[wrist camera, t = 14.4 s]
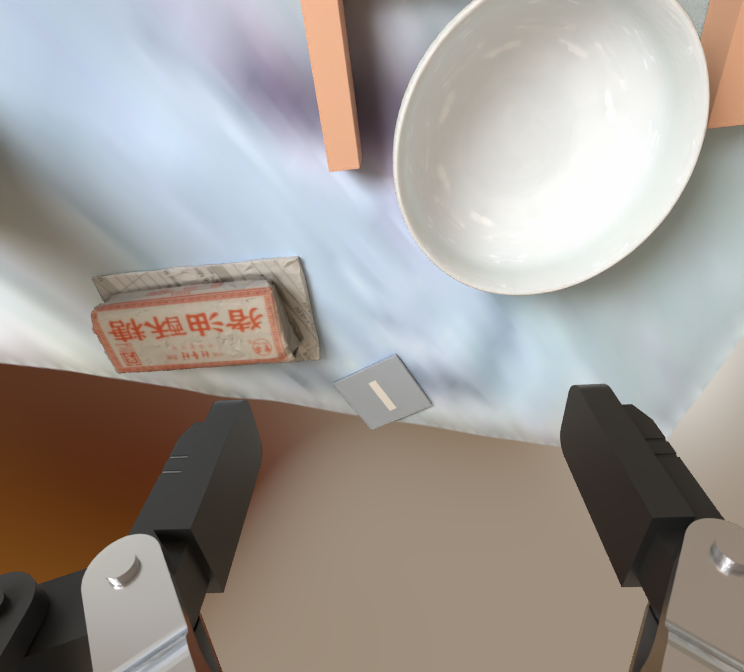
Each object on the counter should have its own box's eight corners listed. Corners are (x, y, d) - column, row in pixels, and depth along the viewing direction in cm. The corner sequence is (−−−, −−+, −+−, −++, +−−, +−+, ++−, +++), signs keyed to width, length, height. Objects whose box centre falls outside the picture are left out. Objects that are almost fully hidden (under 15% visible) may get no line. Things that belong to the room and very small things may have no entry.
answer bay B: (713, 117, 28) (744, 124, 26) (334, 161, 31) (329, 172, 29) (787, -149, 22) (839, -174, 19) (299, -63, 25) (287, -75, 22)
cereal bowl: (615, 248, 34) (660, 292, 28) (399, 259, 35) (398, 302, 29) (685, -39, 24) (775, -63, 19) (386, -8, 26) (382, -22, 20)
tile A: (371, 427, 46) (371, 430, 46) (333, 382, 43) (333, 385, 42) (431, 403, 44) (431, 406, 43) (395, 353, 40) (396, 356, 40)
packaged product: (119, 396, 39) (62, 299, 34) (145, 363, 43) (98, 271, 38) (315, 383, 37) (288, 278, 32) (323, 350, 41) (301, 251, 36)
